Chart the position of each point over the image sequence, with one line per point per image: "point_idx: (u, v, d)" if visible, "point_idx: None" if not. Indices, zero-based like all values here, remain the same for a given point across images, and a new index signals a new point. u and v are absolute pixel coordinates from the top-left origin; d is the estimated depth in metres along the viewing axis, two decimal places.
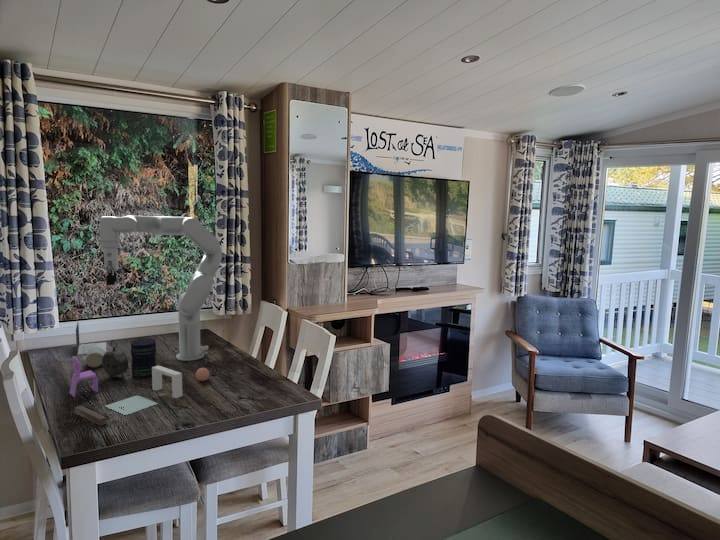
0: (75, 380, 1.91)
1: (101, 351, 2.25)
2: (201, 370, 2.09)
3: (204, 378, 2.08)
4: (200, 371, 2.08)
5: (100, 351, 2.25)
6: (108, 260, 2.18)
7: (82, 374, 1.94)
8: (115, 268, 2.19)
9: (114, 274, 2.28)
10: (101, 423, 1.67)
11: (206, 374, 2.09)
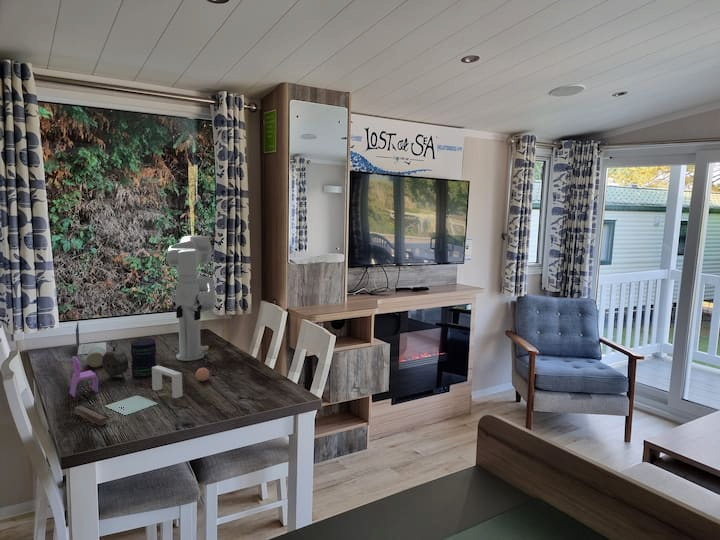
0: (75, 380, 1.91)
1: (101, 351, 2.25)
2: (201, 370, 2.09)
3: (204, 378, 2.08)
4: (200, 371, 2.08)
5: (101, 351, 2.25)
6: None
7: (82, 374, 1.94)
8: None
9: None
10: (101, 423, 1.67)
11: (206, 374, 2.09)
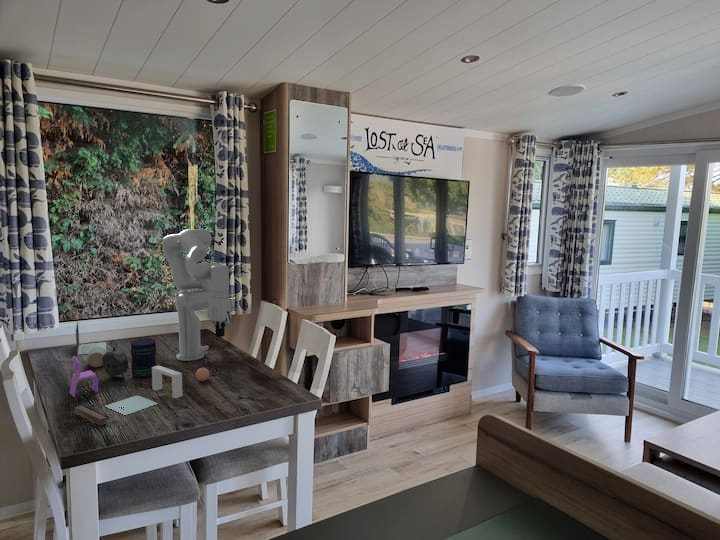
0: (75, 380, 1.91)
1: (102, 351, 2.25)
2: (201, 370, 2.09)
3: (204, 378, 2.08)
4: (200, 371, 2.08)
5: (102, 351, 2.25)
6: None
7: (82, 374, 1.94)
8: None
9: None
10: (101, 423, 1.67)
11: (206, 374, 2.09)
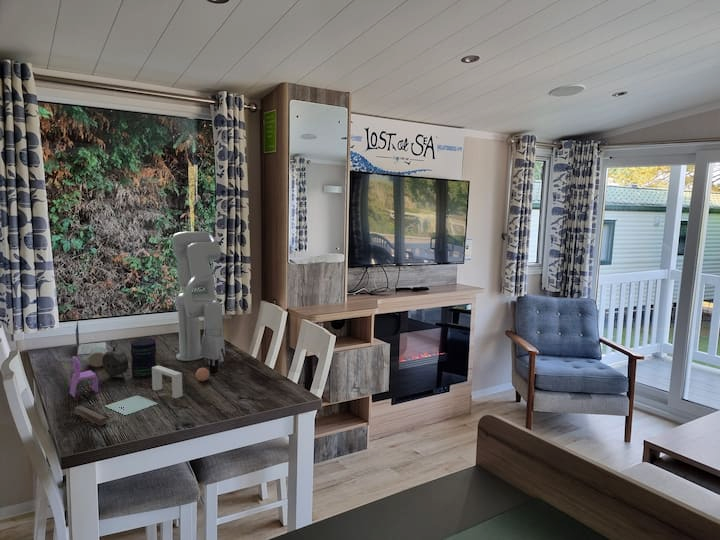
0: (75, 380, 1.91)
1: (103, 351, 2.26)
2: (201, 370, 2.09)
3: (204, 378, 2.08)
4: (200, 371, 2.08)
5: (103, 351, 2.25)
6: None
7: (82, 374, 1.94)
8: None
9: None
10: (101, 423, 1.67)
11: (206, 374, 2.09)
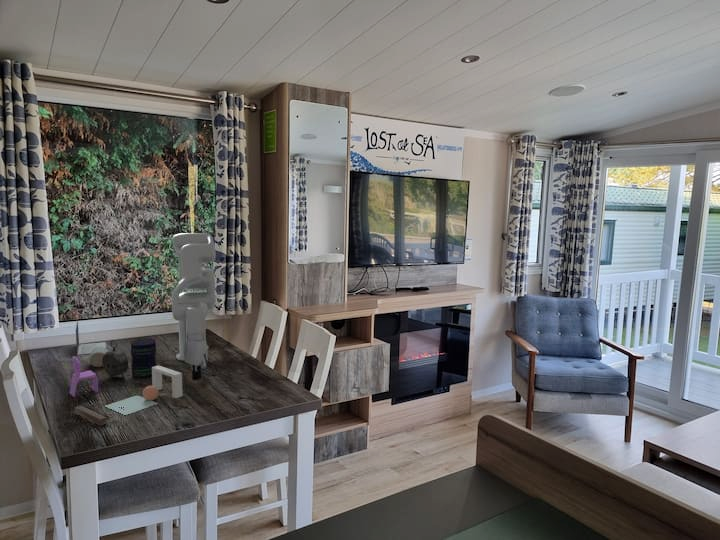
0: (75, 380, 1.91)
1: (104, 351, 2.26)
2: (151, 400, 1.89)
3: (157, 392, 1.89)
4: None
5: (104, 351, 2.25)
6: None
7: (82, 374, 1.94)
8: None
9: None
10: (101, 423, 1.67)
11: (154, 396, 1.88)
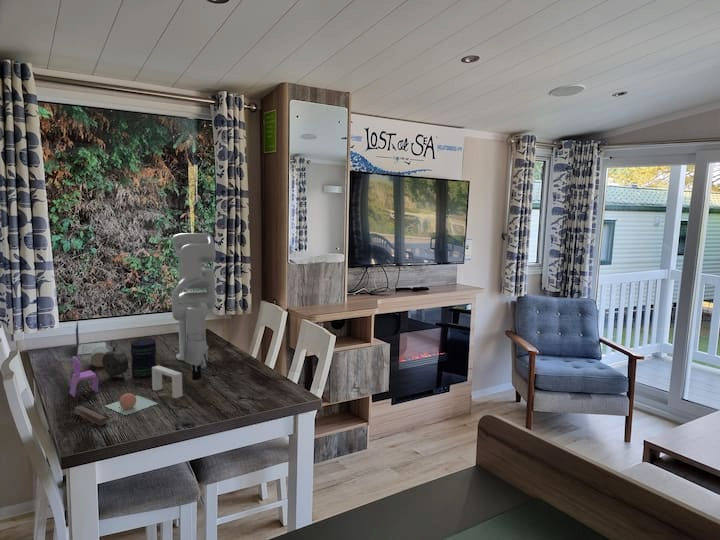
0: (75, 380, 1.91)
1: (105, 351, 2.26)
2: (128, 395, 1.80)
3: (128, 405, 1.79)
4: (126, 395, 1.80)
5: (105, 351, 2.26)
6: None
7: (82, 374, 1.94)
8: None
9: None
10: (101, 423, 1.67)
11: (132, 401, 1.80)
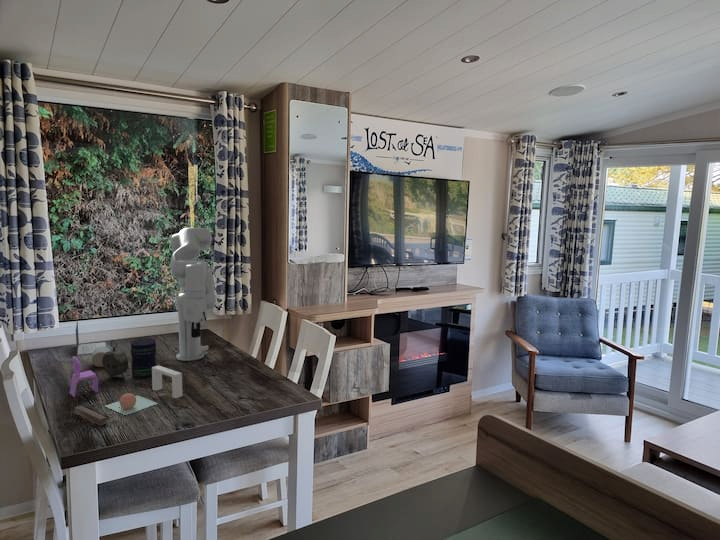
0: (75, 380, 1.91)
1: (106, 351, 2.26)
2: (128, 395, 1.80)
3: (128, 405, 1.79)
4: (126, 395, 1.80)
5: (106, 351, 2.26)
6: None
7: (82, 374, 1.94)
8: None
9: None
10: (101, 423, 1.67)
11: (132, 401, 1.80)
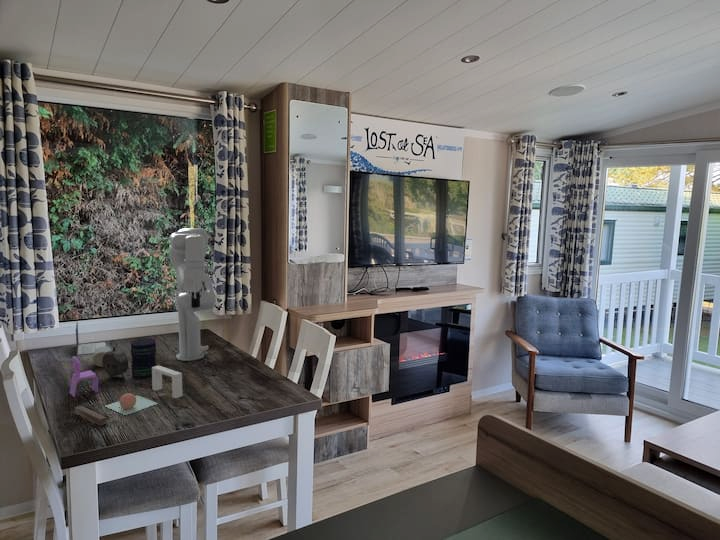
0: (75, 380, 1.91)
1: (107, 351, 2.26)
2: (128, 395, 1.80)
3: (128, 405, 1.79)
4: (126, 395, 1.80)
5: (107, 351, 2.26)
6: None
7: (82, 374, 1.94)
8: None
9: None
10: (101, 423, 1.67)
11: (132, 401, 1.80)
